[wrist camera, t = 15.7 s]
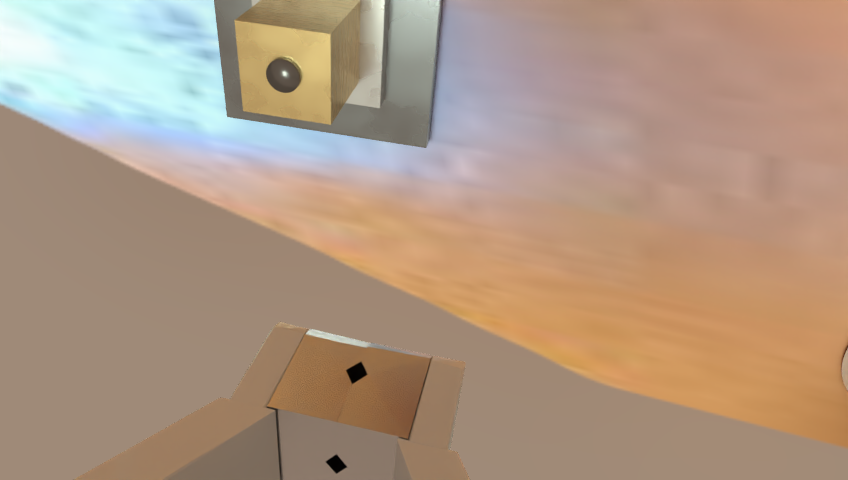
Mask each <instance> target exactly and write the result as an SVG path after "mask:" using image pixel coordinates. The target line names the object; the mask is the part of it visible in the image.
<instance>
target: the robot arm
mask: <svg viewBox="0 0 848 480" xmlns="http://www.w3.org/2000/svg"><path fill="white" fill-rule="evenodd" d="M464 370H465V362H463V361H457V360H453V359H448V358H443V357H438V356H432V355H429V354H424V353H419V352H413V351H409V350H404V349H399V348H394V347H389V346H385V345H380V344H375V343H367V342H363V341H359V340H354V339H351V338H347V337H342V336H338V335H334V334H330V333H326V332H322V331H317V330H313V329H306V328H302V327H298V326H294V325H290V324H285V323H282V322H279V323H278V324H277V325H276V326H274V327H273V328H272V329H271V331H270V332H269V334H268V336H267V338H266V339H265V341H264V343H263V345H262V346H261V348H260V349H259V351H258V353H257V354H256V356H255V358H254V359H253V361H252V363H251V364H250V366H249V368H248V369H247V371H246V373H245V374H244V376H243V378H242V379H241V381H240V383H239V384H238V386H237V388H236V389H235V391H234V393H233V395H232V396H231V398H230V399H226V398H221V397H220V398H218V399H216V400H215V401H213V402H211V403H209V404H207V405H206V406H204V407H202V408H200V409H198V410H197V411H195V412H193V413H191V414H190V415H188V416H186V417H184V418H183V419H181V420H179V421H177V422H176V423H174V424H172V425H170V426H169V427H166V428H165V429H163V430H161V431H159V432H158V433H156V434H154V435H152V436H151V437H149V438H147V439H146V440H144V441H142V442H140V443H138V444H136V445H135V446H133V447H131V448H129V449H127V450H126V451H124V452H122V453H120V454H118V455H117V456H115V457H113V458H111V459H110V460H108V461H106V462H104V463H102V464H101V465H99V466H97V467H95V468H94V469H92V470H90V471H88V472H87V473H85V474H83V475H81V476H79V477H78V478H76V479H74V480H470V478H469V476H468V474H467V472H466V470H465V467H464V466H463V463H462V461H461V459H460V457H459V454H458V452H455V451H451V450H450V448H451V443H452V437H453V431H454V425H455V420H456V415H457V409H458V404H459V398H460V393H461V387H462V381H463V376H464ZM842 379H843V382H844V385H845V387H846V389H847V391H848V349H847V351H846V353H845V355H844V358H843V362H842Z"/></svg>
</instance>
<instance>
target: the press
mask: <svg viewBox="0 0 848 480" xmlns="http://www.w3.org/2000/svg"><path fill="white" fill-rule="evenodd" d="M259 1H261V0H214V4H215V13H216V22H217V31H218V40H219V48H220V57H221V66H222V75H223V84H224V93H225V102H226V110H227V117H232V118H239V119H245V120H251V121H258V122H264V123H270V124H277V125H283V126H290V127H296V128H302V129H309V130H315V131H321V132H328V133H334V134H341V135H347V136H353V137H360V138H366V139H372V140H379V141H385V142H392V143H398V144H404V145H411V146H417V147H424V148H426V147H427V144H428V141H429V135H430V125H431V115H432V104H433V94H434V84H435V73H436V63H437V53H438V42H439V32H440V21H441V11H442V1H443V0H360V45H359V83H358V84H357V86H356V87H355V89H354V90H353V92H352V93H351V95H350V96H349V98H348V100H347V101H346V103H345V104H344V106H343V107H342V109H341V110H340V112H339V113H338V115H337V116H336V118H335V119H334V121H333V122H332V124H331V125H329V124H323V123H316V122H310V121H304V120H297V119H291V118H284V117H278V116H271V115H265V114H259V113H252V112H246V111H243V104H242V94H241V83H240V73H239V62H238V52H237V42H236V31H235V21H234V20H235V19H237V18H238V17H239V16H241V15H242V14H243V13H245V12H246V11H247V10H249V9H250V8H251V7H253V6H254V5H255V4H257V3H258V2H259Z"/></svg>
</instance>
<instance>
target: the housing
mask: <svg viewBox="0 0 848 480" xmlns="http://www.w3.org/2000/svg"><path fill="white" fill-rule="evenodd" d="M234 21H235V31H236V42H237V52H238V62H239V73H240V83H241V94H242V104H243V111H246V112H252V113H259V114H265V115H271V116H278V117H284V118H291V119H297V120H304V121H310V122H316V123H323V124H329V125H331V124H332V122H333V121H334V119H335V118H336V116H337V115H338V113H339V112H340V110H341V109H342V107H343V106H344V104H345V103H346V101H347V100H348V98H349V96H350V95H351V93H352V92H353V90H354V89H355V87H356V86H357V84H358V83H359V45H360V0H261V1H259V2H258V3H257V4H255V5H254V6H253V7H251V8H250V9H249V10H247V11H246V12H245V13H243V14H242V15H241V16H239V17H238V18H237V19H235V20H234Z"/></svg>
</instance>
